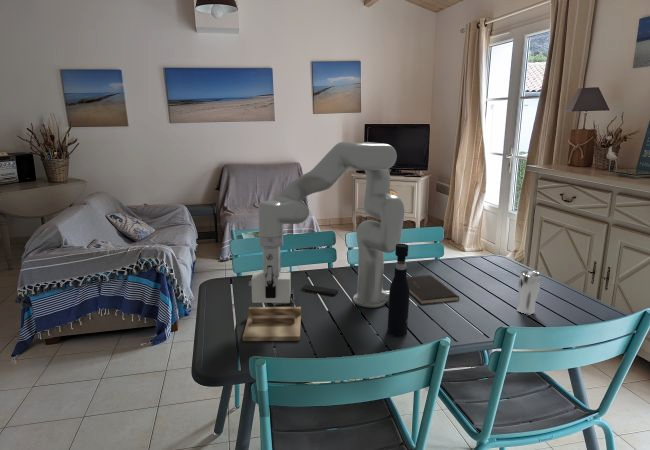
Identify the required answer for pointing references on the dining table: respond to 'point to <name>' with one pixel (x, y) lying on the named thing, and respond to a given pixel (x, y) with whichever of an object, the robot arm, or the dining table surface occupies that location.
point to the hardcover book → (429, 289)
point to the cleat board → (273, 324)
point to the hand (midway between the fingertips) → (271, 292)
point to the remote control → (320, 290)
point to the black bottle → (399, 295)
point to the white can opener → (528, 291)
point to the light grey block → (281, 285)
